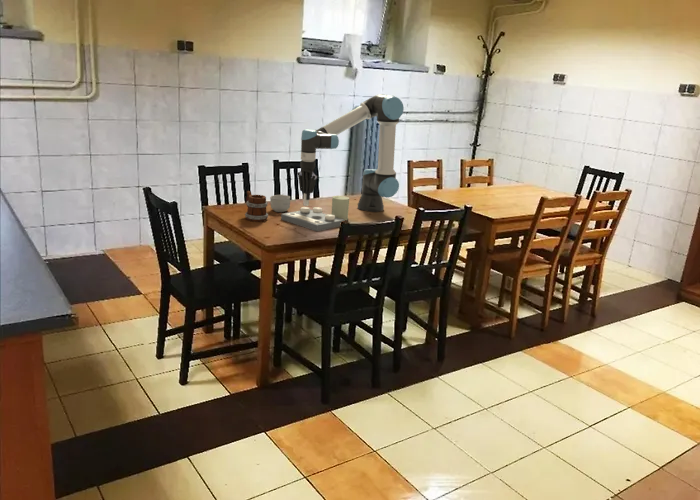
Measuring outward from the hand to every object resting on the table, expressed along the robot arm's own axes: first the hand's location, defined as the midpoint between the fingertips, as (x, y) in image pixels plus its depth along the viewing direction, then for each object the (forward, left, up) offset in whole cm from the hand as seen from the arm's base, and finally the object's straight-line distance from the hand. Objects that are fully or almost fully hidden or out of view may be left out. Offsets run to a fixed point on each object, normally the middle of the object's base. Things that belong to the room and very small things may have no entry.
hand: (306, 205), depth 310 cm
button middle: (0, +9, -2) cm, 9 cm away
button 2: (0, +18, -4) cm, 18 cm away
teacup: (0, -19, -7) cm, 20 cm away
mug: (+23, -13, -7) cm, 28 cm away
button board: (+3, +9, -7) cm, 12 cm away
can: (-15, +11, -7) cm, 20 cm away
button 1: (0, 0, -4) cm, 4 cm away
